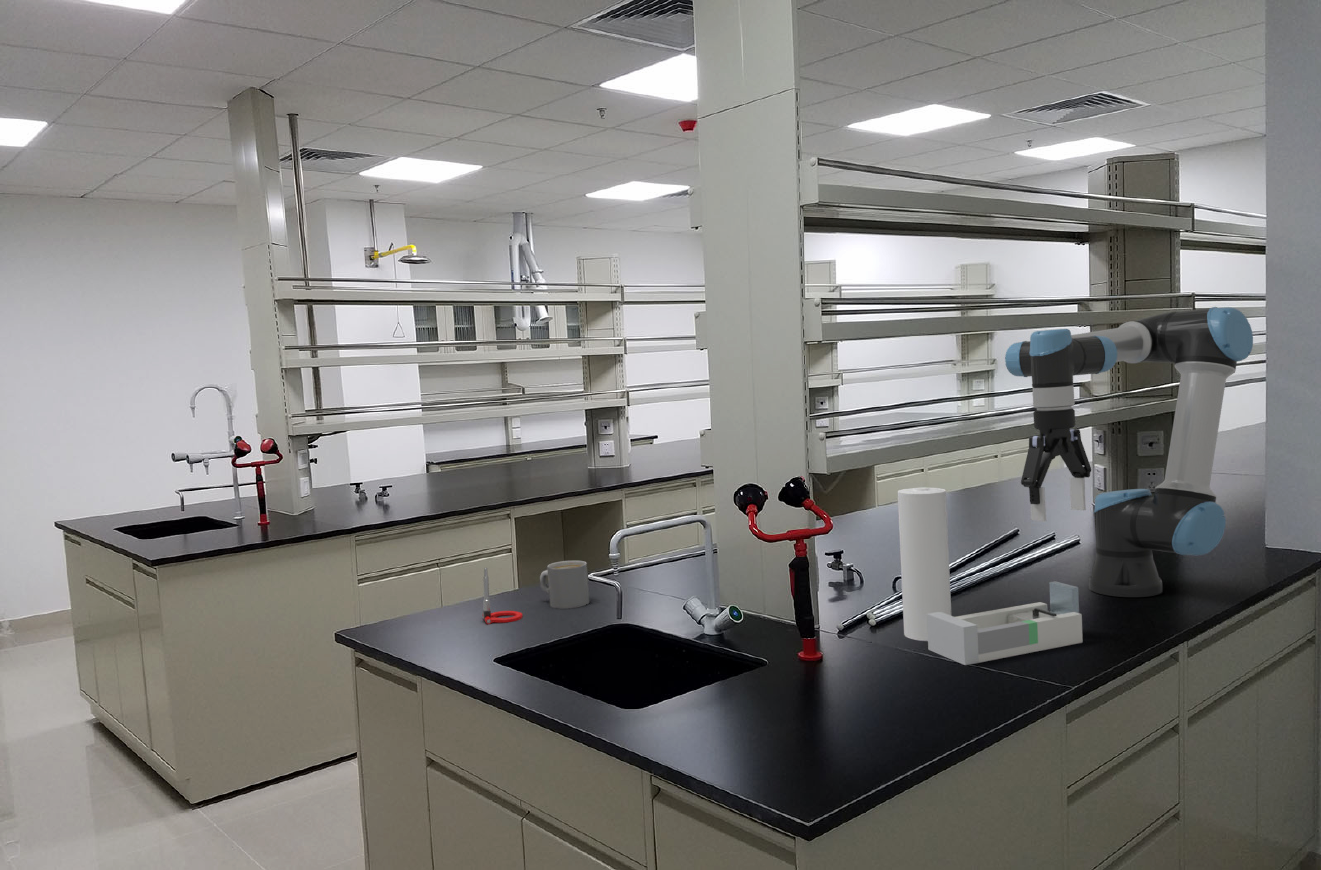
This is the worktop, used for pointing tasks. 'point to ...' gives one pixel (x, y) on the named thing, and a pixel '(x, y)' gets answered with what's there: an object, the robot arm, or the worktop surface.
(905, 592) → the cylinder container
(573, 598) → the coffee mug
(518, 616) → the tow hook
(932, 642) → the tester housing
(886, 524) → the worktop surface
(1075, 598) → the plunger
